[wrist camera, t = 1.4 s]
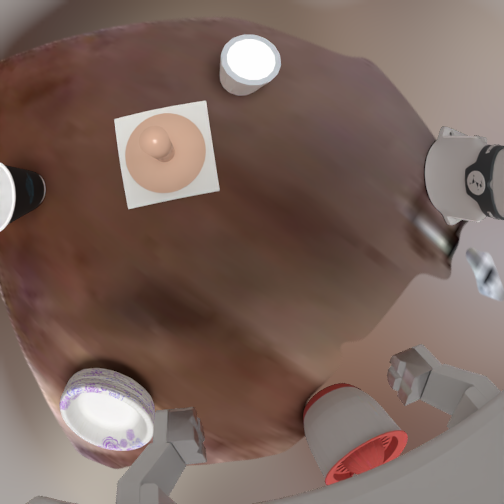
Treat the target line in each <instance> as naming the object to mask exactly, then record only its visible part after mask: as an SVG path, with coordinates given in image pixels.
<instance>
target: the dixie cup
mask: <svg viewBox="0 0 504 504" xmlns="http://www.w3.org/2000/svg"><path fill="white" fill-rule="evenodd" d="M45 192H46V187H45V182H44V180H43V178H42V177H41V176H40V175H38V174H37V173H36V172H33V171H29V170H24V169H20V168H15V167H10V166H6V165H3V164H2V163H0V231H2V230H3V229H4V228H5V227H6V226H7V225H8V224H9V223H11V222H13V221H15V220H16V219H18V218H20V217H21V216H23V215H25V214H27V213H29V212H30V211H32V210H34V209H36V208H37V207H38V206H39V205H40V203H41V202H42V201H43V199H44V197H45Z"/></svg>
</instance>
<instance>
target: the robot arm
mask: <svg viewBox="0 0 504 504" xmlns="http://www.w3.org/2000/svg"><path fill="white" fill-rule="evenodd" d="M425 182H426V188H427V192H428V195H429V198H430V200H431V202H432V203H433V205H434V206H435V208H436V209H437V210H438V211H440V212H441V213H442V215H443V217H444V219H445V221H446V223H447V224H448V225H454V224H456V223H458V222H459V221H461V220H467V221H472V222H481V220H483V219H485V218H486V217H487V216H488V217H492V218H494V219H498V220H499V219H501V220H504V146H501V145H487V139H486V138H485V137H480V136H468V135H465V134H463V133H461V132H459V131H456V130H454V129H452V128H449V127H445V126H443V127H442V128H441V129H440V133H439V136H438V139H437V140H436V142H435V143H434V144H433V145H432V147H431V148H430V150H429V153H428V156H427V159H426V165H425ZM390 363H391V367H390V368H389V369H388V373H387V377H388V382H389V384H390V386H391V388H392V389H394V390H396V391H398V397H399V399H400V400H401V401H402V403H403V404H404V406H406V405H408V404H410V403H412V402H415V401H417V400H419V399H421V400H422V401H424V402H426V403H428V404H430V405H432V406H434V407H436V408H438V409H440V410H442V411H444V412H446V413H448V414H450V415H452V417H451V419H450V420H449V422H448V425H447V427H448V428H449V430H447V431H445V432H444V433H442V434H441V435H439V436H437V437H435V438H434V439H432V440H430V441H428V442H426V443H425V444H423V445H421V446H419V447H417V448H415V449H414V450H412V451H410V452H408V453H406V454H404V455H402V456H400V457H397V458H395V459H393V460H391V461H389V462H387V463H385V464H382V465H380V466H378V467H375V468H373V469H371V470H368V471H366V472H363V473H361V474H358V475H356V476H353V477H350V478H348V479H345V480H342V481H339V482H336V483H333V484H330V485H327V486H324V487H321V488H317V489H314V490H310V491H307V492H303V493H300V494H296V495H292V496H288V497H283V498H279V499H274V500H269V501H265V502H259V503H253V504H504V390H503V391H502V392H501V391H500V390H499V389H498V388H497V387H496V386H495V385H494V384H493V383H492V382H491V381H490V380H489V379H488V378H487V377H486V376H484V375H480V374H477V373H474V372H470V371H467V370H464V369H460V368H457V367H454V366H450V365H447V364H443V365H442V364H441V363H440V362H439V361H438V360H437V359H436V358H435V357H434V356H433V355H432V353H431V352H430V351H429V350H428V349H427V348H426V347H424V345H422V344H419V345H417V346H415V347H412V348H409V349H407V350H405V351H402V352H400V353H398V354H395V355H393V356H392V357H391V359H390ZM204 440H205V437H204V430H203V426H202V423H201V420H200V419H199V418H198V417H197V411H196V409H195V407H189V408H178V409H167V410H156V413H155V419H154V433H153V443H152V444H149V445H148V446H147V447H146V449H145V450H144V451H143V452H142V453H141V455H140V456H139V457H138V458H137V459H136V461H135V462H134V463H133V464H132V465H131V467H130V468H129V469H128V470H127V471H126V473H125V474H124V475H123V476H122V478H121V479H120V480H119V481H118V484H117V495H116V504H176V503H175V502H174V501H173V500H172V499H171V498H170V497H169V495H170V493H171V491H172V489H173V488H174V486H175V484H176V483H177V481H178V479H179V477H180V476H181V474H182V472H183V470H184V469H185V467H186V465H187V464H195V463H203V462H207V459H206V448H205V447H204V445H203V441H204ZM26 504H76V503H71V502H66V501H60V500H57V499H52V498H48V497H43V496H37V497H34V498H33V499H31V500H30V501H29V502H27V503H26Z"/></svg>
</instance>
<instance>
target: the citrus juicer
mask: <svg viewBox="0 0 504 504" xmlns="http://www.w3.org/2000/svg"><path fill="white" fill-rule="evenodd" d="M303 425H304V431H305V436H306V440H307V442H308V445H309V447H310V450H311V452H312V454H313V456H314V458H315V460H316V462H317V464H318V466H319V468H320V470H321V472H322V474H323V476H324V477H325V483H326V485H330V484H333V483H336V482H339V481H342V480H345V479H348V478H350V477H352V475H353V474H354V473H355V474H361V473H363V472H366V471H368V470H371V469H373V468H375V467H378V466H380V465H382V464H385V463H387V462H389V461H391V460H393V459H395V458H397V457H398V456H399V455H400V454H401V452H402V451H403V449H404V448H405V446H406V443H407V438H408V437H407V434H406V433H405V432H404V431H402V430H401V429H400V428H399V427H398V426H397V424H396V423H395V422H394V421H393V420H392V419H391V417H390V416H389V415H388V414H387V413H386V412H385V410H384V409H383V408H382V407H381V406H380V405H379V404H378V403H377V402H376V401H375V400H374V399H373V398H372V397H371V396H369V395H368V394H367V393H365V392H363V391H362V390H360V389H359V388H357V387H355V386H352V385H350V384H345V383H341V384H340V383H339V384H334V385H331V386H329V387H326V388H324V389H323V390H321V391H319V392H318V393H317V394H315V395H314V396H313V397H312V398H311V399H310V400H309V402H308V403H307V405H306V407H305V409H304V413H303Z"/></svg>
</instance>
